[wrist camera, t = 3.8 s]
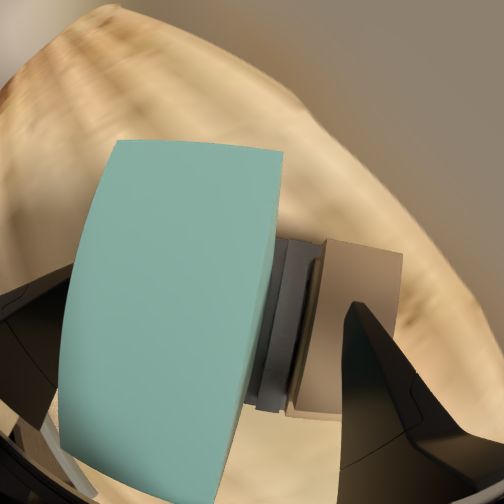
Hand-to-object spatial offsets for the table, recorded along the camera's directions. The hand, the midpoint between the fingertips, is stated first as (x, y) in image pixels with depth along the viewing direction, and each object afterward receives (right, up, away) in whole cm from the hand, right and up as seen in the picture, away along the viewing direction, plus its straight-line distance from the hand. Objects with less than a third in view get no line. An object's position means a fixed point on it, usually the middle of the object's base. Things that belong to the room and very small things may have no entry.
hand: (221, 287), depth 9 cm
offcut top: (+6, -3, +3) cm, 7 cm away
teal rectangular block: (0, -3, +6) cm, 6 cm away
